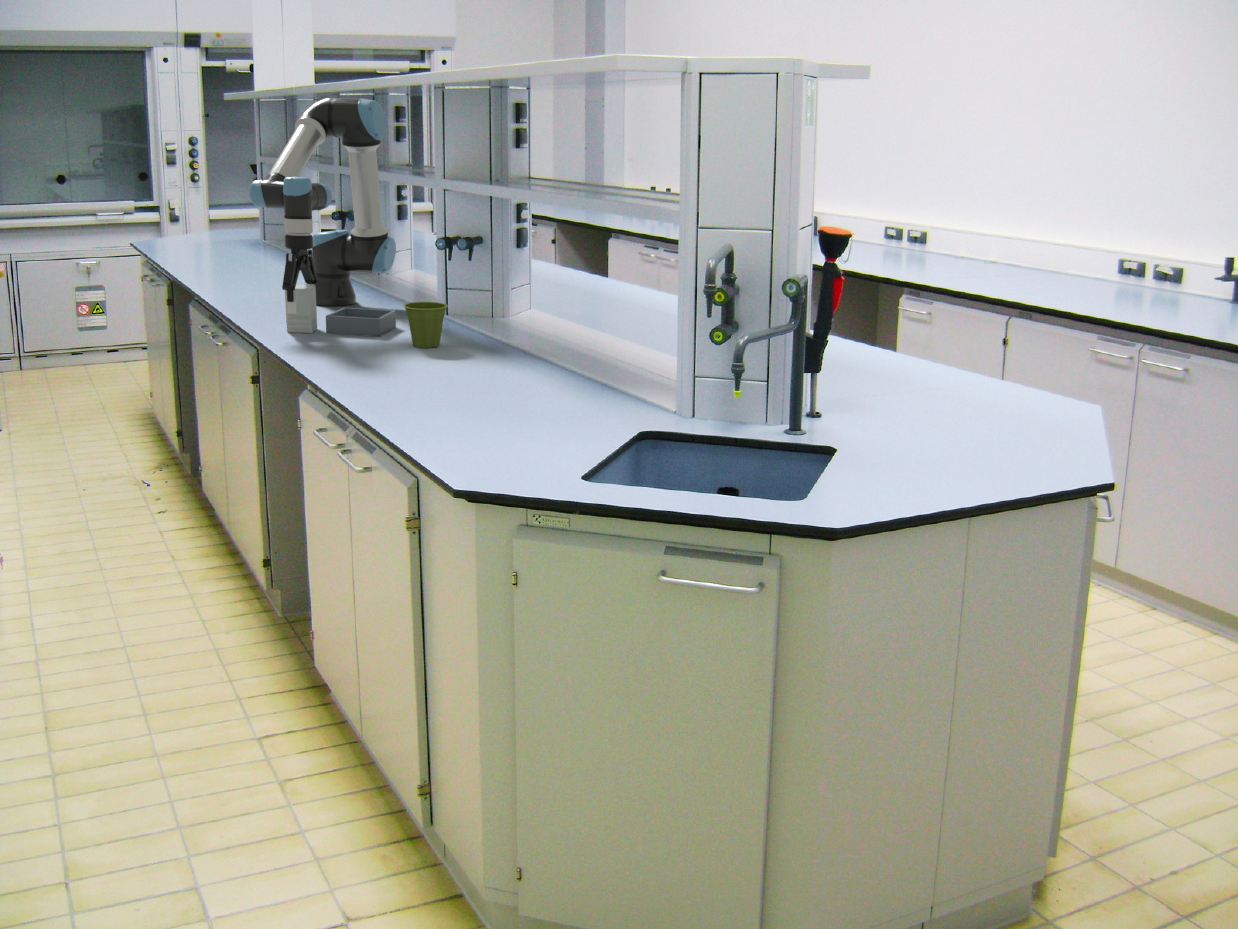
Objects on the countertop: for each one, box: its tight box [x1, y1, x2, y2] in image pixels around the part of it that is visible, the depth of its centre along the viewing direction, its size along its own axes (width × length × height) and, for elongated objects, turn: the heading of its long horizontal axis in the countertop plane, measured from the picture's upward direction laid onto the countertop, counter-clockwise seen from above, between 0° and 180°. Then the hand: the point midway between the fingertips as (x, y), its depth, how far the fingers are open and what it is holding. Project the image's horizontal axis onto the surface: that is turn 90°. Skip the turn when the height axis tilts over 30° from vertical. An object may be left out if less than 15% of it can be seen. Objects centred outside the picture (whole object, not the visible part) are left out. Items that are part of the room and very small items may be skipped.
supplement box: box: [284, 284, 318, 334], centre depth 332 cm, size 7×7×13 cm
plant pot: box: [402, 301, 449, 349], centre depth 319 cm, size 12×12×11 cm
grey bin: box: [325, 307, 397, 337], centre depth 338 cm, size 16×16×5 cm
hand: (300, 310), depth 332 cm, fingers open, 13 cm apart
